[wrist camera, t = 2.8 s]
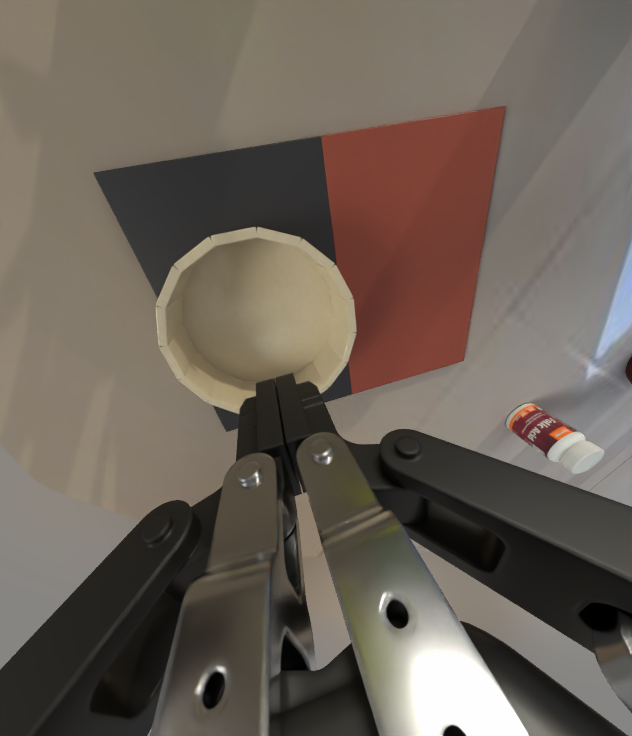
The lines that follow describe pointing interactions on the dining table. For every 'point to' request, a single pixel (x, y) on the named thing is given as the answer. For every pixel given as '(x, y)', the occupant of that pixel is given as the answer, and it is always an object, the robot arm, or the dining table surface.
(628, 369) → the vase
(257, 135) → the dining table surface
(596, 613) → the robot arm
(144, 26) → the dining table surface
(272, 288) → the bowl
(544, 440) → the pill bottle
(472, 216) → the placemat
